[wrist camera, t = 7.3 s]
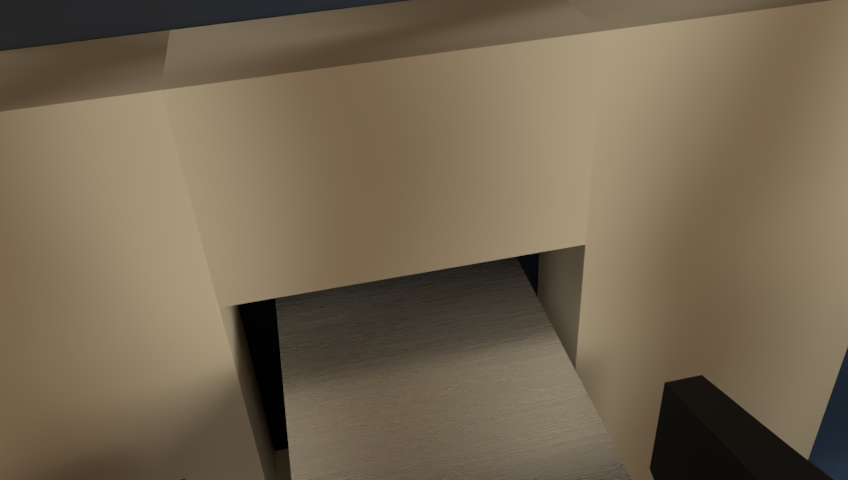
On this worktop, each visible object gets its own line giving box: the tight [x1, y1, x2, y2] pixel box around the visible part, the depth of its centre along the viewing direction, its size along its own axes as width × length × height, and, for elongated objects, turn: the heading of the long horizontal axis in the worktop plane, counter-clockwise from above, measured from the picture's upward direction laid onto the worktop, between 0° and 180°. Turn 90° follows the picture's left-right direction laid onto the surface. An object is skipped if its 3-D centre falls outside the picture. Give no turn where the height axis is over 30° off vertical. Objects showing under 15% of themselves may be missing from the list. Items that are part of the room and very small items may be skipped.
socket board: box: [0, 0, 848, 480], centre depth 14 cm, size 16×12×2 cm
